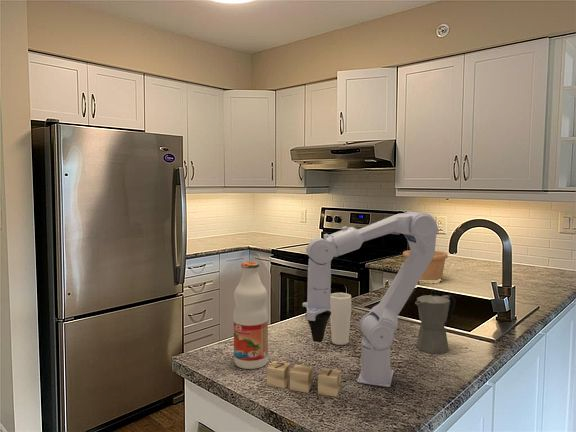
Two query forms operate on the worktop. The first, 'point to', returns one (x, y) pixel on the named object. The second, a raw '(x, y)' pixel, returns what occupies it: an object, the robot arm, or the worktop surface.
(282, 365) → the block seven
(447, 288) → the worktop surface
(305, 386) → the plain block
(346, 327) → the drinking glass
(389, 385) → the robot arm
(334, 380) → the block one
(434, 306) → the coffeepot
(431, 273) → the pottery
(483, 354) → the worktop surface
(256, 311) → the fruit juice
